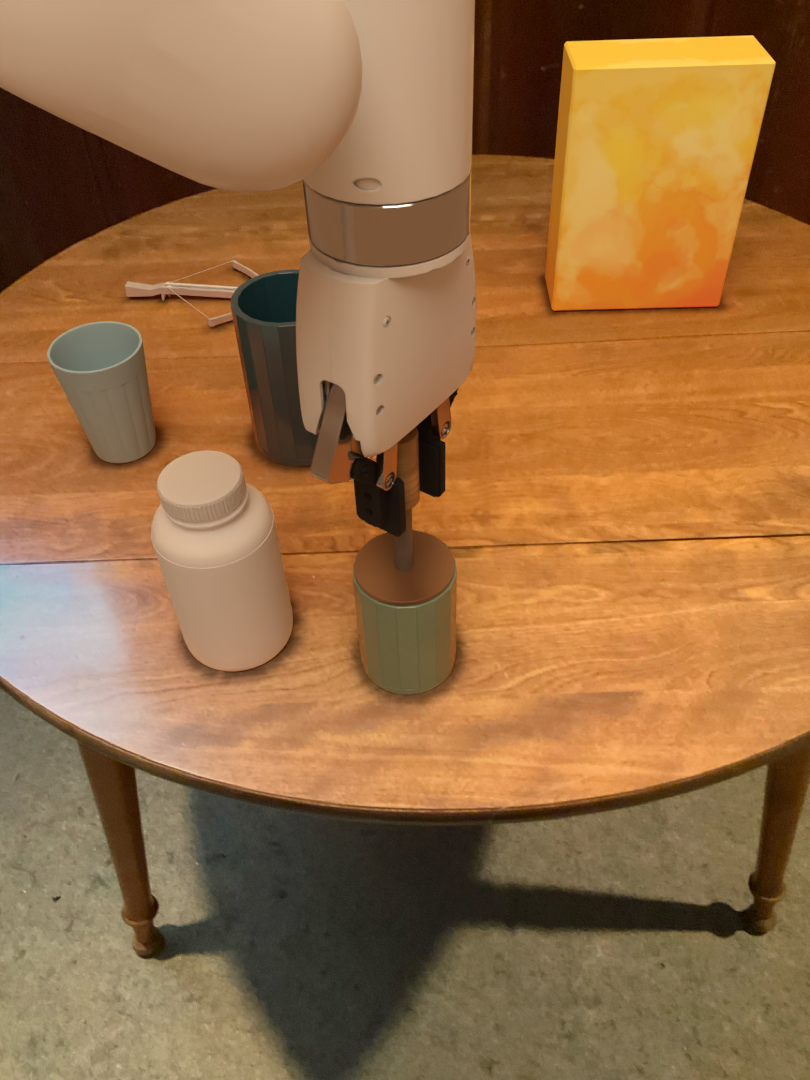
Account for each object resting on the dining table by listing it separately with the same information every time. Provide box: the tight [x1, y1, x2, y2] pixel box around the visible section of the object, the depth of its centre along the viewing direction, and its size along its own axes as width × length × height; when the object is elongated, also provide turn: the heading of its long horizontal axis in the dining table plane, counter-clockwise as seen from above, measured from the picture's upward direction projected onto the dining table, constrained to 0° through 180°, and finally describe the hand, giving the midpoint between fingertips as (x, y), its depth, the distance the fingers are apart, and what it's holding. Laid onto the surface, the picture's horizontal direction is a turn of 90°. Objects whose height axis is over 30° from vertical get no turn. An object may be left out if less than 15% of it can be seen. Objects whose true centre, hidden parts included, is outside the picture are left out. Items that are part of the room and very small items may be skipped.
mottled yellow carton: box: [544, 34, 777, 312], centre depth 93 cm, size 18×12×24 cm
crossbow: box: [124, 259, 260, 327], centre depth 101 cm, size 16×13×2 cm
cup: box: [46, 320, 157, 464], centre depth 80 cm, size 8×8×10 cm
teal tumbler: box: [230, 268, 319, 468], centre depth 79 cm, size 9×9×14 cm
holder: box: [352, 557, 458, 696], centre depth 62 cm, size 7×7×9 cm
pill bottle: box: [150, 449, 294, 673], centre depth 62 cm, size 8×8×15 cm
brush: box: [353, 427, 455, 606], centre depth 58 cm, size 6×6×19 cm
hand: (401, 503), depth 55 cm, fingers open, 3 cm apart
